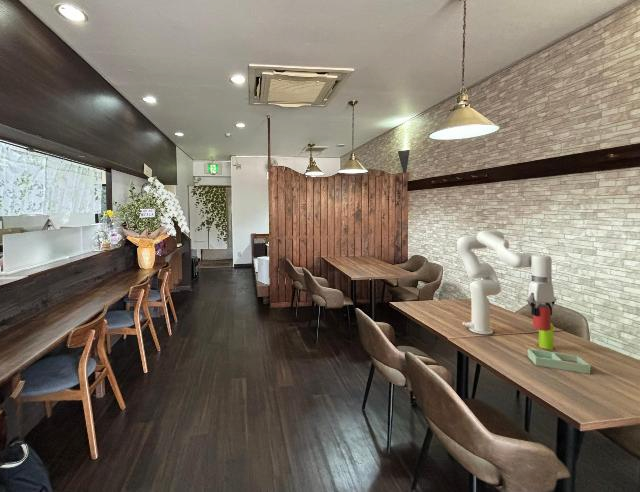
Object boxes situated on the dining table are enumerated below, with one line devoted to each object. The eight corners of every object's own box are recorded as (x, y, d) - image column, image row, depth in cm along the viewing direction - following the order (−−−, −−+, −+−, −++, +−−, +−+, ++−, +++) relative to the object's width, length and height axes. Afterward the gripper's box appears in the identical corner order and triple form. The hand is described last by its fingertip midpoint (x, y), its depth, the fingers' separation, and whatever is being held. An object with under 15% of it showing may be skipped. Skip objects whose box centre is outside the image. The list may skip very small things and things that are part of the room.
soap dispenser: (548, 345, 159) (548, 309, 158) (555, 350, 152) (555, 313, 152) (535, 343, 161) (535, 308, 160) (542, 349, 154) (542, 312, 154)
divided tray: (535, 365, 138) (535, 357, 137) (527, 355, 147) (527, 348, 147) (590, 373, 130) (590, 365, 130) (577, 363, 139) (577, 355, 139)
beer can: (554, 331, 140) (553, 307, 140) (538, 330, 142) (538, 306, 142) (544, 326, 147) (544, 303, 147) (529, 325, 148) (529, 302, 148)
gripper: (549, 277, 149) (549, 311, 149) (518, 278, 147) (519, 313, 147) (564, 280, 141) (565, 316, 141) (533, 281, 139) (533, 318, 140)
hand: (541, 314), depth 144 cm, fingers closed on beer can, 6 cm apart
